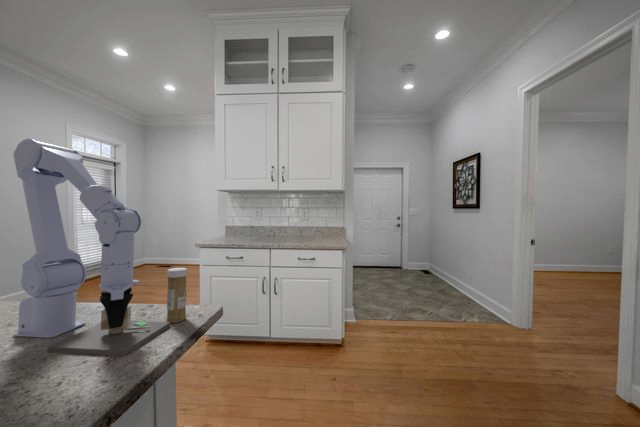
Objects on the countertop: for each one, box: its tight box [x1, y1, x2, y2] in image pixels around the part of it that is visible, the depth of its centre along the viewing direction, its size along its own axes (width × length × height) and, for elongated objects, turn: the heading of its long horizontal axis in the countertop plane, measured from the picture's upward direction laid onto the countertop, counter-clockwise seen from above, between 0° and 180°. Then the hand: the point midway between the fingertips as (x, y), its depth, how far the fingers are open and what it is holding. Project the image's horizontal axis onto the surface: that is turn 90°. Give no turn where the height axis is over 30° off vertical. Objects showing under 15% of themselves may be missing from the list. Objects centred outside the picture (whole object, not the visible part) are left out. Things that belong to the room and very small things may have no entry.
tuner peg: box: [100, 306, 150, 334], centre depth 59 cm, size 9×3×5 cm, turn 106°
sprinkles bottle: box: [166, 267, 188, 324], centre depth 69 cm, size 5×5×13 cm
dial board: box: [47, 320, 171, 357], centre depth 59 cm, size 16×14×1 cm
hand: (115, 324), depth 59 cm, fingers closed on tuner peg, 3 cm apart
